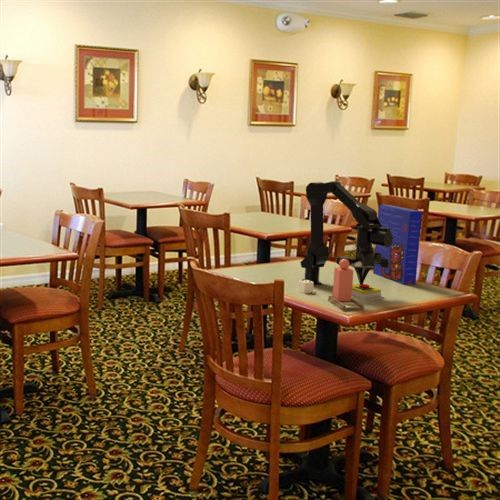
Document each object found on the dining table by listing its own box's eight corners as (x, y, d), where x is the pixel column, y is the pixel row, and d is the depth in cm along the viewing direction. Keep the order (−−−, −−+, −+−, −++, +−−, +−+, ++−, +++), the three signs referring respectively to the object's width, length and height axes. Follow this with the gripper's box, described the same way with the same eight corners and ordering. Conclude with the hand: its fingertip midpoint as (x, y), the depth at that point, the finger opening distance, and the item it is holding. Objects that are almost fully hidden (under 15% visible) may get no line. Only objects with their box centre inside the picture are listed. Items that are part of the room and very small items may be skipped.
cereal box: (415, 284, 272) (422, 211, 267) (403, 284, 270) (410, 211, 265) (384, 272, 292) (390, 204, 287) (373, 273, 290) (378, 204, 284)
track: (327, 300, 237) (328, 295, 237) (347, 300, 239) (348, 295, 239) (342, 311, 224) (343, 305, 224) (363, 310, 226) (364, 305, 226)
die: (298, 290, 251) (298, 279, 250) (307, 290, 252) (307, 278, 252) (304, 293, 247) (304, 281, 246) (312, 292, 249) (313, 281, 248)
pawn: (332, 297, 237) (335, 257, 234) (345, 297, 238) (348, 257, 235) (337, 301, 232) (340, 260, 229) (351, 301, 233) (354, 260, 231)
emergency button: (368, 289, 240) (339, 281, 252) (367, 301, 241) (338, 292, 253) (385, 287, 246) (356, 279, 258) (384, 299, 247) (355, 290, 258)
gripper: (346, 246, 236) (343, 289, 239) (396, 247, 239) (392, 289, 242) (337, 240, 247) (334, 282, 250) (385, 242, 250) (382, 282, 253)
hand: (361, 284), depth 248 cm, fingers closed
